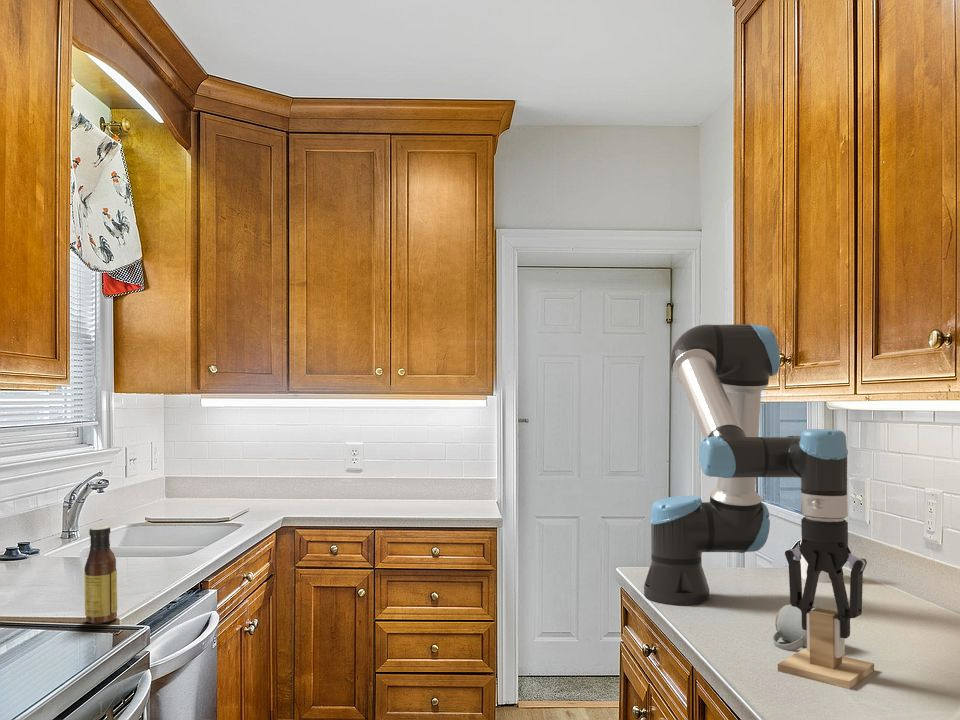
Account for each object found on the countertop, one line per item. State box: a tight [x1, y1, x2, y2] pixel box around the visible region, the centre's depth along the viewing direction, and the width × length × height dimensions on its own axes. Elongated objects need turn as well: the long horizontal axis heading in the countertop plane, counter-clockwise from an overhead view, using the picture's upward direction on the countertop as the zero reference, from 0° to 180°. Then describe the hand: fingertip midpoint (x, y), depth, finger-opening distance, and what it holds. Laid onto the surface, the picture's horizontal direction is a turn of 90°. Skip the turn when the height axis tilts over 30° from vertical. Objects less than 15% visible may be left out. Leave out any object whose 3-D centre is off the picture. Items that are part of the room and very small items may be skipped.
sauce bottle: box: [83, 525, 118, 625], centre depth 172 cm, size 6×6×20 cm
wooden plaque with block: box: [777, 606, 875, 690], centre depth 141 cm, size 12×12×10 cm
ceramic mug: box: [772, 604, 816, 651], centre depth 156 cm, size 11×8×8 cm
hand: (825, 652), depth 141 cm, fingers closed on wooden plaque with block, 4 cm apart
